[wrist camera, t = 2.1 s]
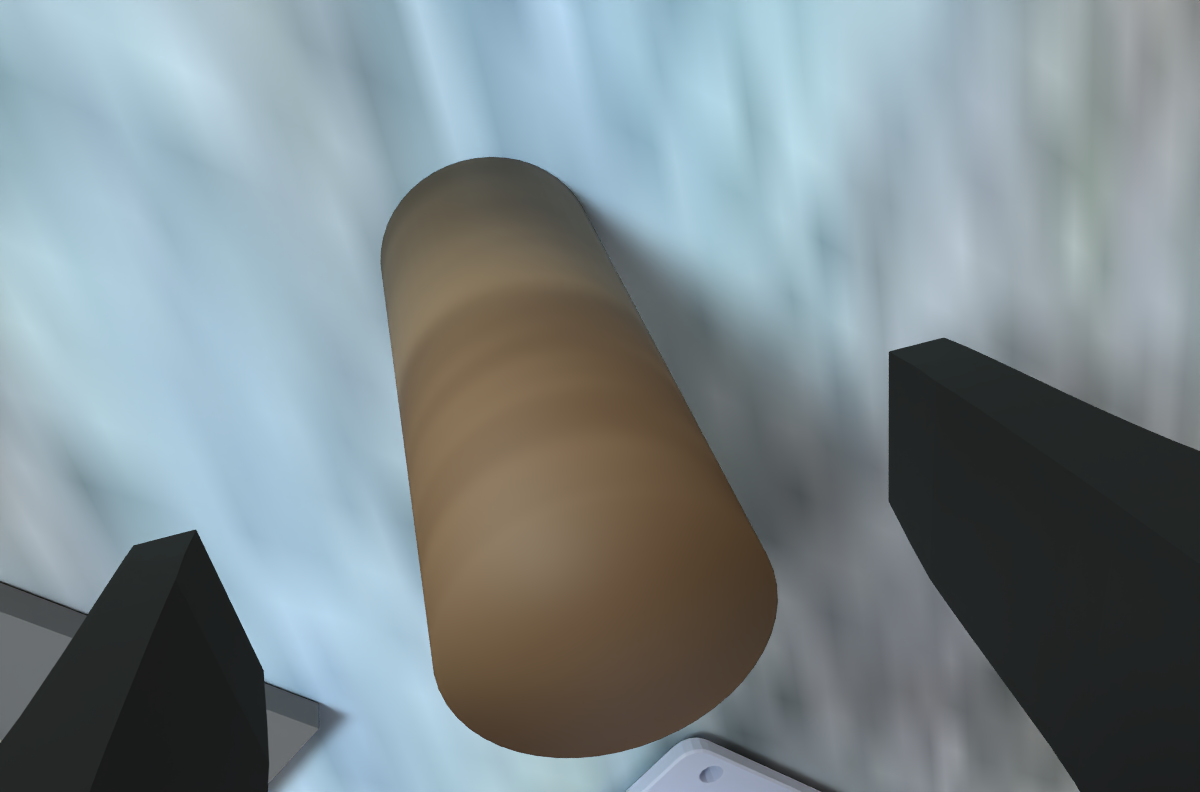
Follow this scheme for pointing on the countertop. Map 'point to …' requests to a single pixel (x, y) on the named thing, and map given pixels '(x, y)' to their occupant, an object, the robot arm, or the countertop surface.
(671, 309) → the countertop surface
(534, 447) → the walnut peg
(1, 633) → the peg socket
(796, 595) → the countertop surface
